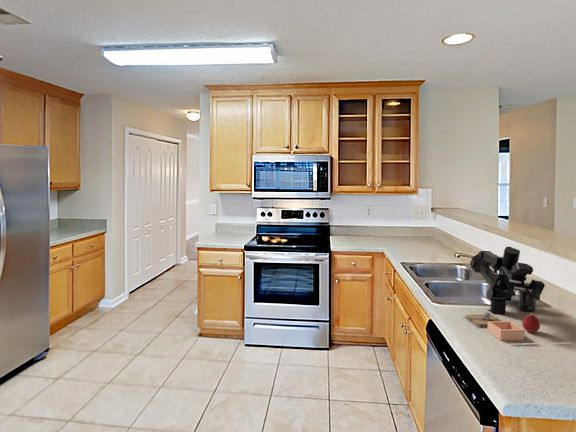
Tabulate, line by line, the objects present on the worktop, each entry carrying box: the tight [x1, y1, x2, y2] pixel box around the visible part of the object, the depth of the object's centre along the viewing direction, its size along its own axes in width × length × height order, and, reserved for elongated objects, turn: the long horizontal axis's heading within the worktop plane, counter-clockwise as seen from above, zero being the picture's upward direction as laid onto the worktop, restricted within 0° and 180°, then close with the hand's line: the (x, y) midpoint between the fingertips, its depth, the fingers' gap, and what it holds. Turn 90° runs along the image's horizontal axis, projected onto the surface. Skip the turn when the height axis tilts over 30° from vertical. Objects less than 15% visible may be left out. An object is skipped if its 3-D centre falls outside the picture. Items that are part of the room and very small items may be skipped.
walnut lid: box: [465, 311, 502, 327], centre depth 171 cm, size 11×11×4 cm
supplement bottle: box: [518, 282, 537, 313], centre depth 189 cm, size 7×7×12 cm
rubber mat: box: [462, 316, 488, 329], centre depth 172 cm, size 13×13×1 cm
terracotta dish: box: [486, 320, 526, 342], centre depth 158 cm, size 9×9×4 cm
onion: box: [521, 312, 541, 334], centre depth 161 cm, size 6×6×8 cm
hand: (526, 297), depth 158 cm, fingers open, 9 cm apart
